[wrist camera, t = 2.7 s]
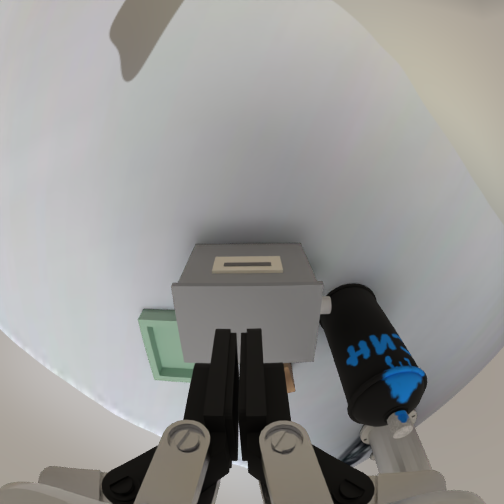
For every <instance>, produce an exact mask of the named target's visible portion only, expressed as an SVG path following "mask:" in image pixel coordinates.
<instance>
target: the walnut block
mask: <svg viewBox="0 0 504 504" xmlns="http://www.w3.org/2000/svg"><path fill="white" fill-rule="evenodd" d="M283 364H284V371H285V378H286V386H287V393H290V392H295V385H294V379H293V372H292V366H291V363H283Z"/></svg>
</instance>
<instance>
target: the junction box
mask: <svg viewBox="0 0 504 504" xmlns="http://www.w3.org/2000/svg"><path fill="white" fill-rule="evenodd" d="M323 286H324V284H323V282H322V281H317V280H316V278H315V275H314V273H313V271H312V268H311V266H310V264H309V261H308V259H307V257H306V254H305V252H304V250H303V248H302V245H301V243H268V244H196V245H195V247H194V249H193V251H192V253H191V255H190V258H189V260H188V262H187V264H186V266H185V268H184V271H183V273H182V275H181V277H180V279H179V282H178V283H172V285H171V288H172V295H173V302H174V308H175V314H176V320H177V326H178V332H179V337H180V343H181V348H182V353H183V358H184V363H211V356H212V349H213V342H214V336H215V330H216V329H231V333H236V334H237V351H238V364H240V345H241V333H245V332H247V329H254V328H261V329H262V346H263V363H280V362H283V363H297V362H314V355H315V349H316V342H317V335H318V327H319V320H320V314H330V312H331V298H330V296H322V295H323Z"/></svg>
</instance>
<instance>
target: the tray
mask: <svg viewBox="0 0 504 504" xmlns="http://www.w3.org/2000/svg"><path fill="white" fill-rule="evenodd" d="M138 322H139V326H140V330H141V334H142V338H143V342H144V345H145V349H146V353H147V356H148V360H149V363H150V367H151V370H152V373H153V377H154V380H161V381H173V382H189V383H191V378H192V373H193V368H194V364H195V363H184V358H183V353H182V348H181V343H180V337H179V332H178V326H177V320H176V314H175V310H154V309H143V311H142V313H141V315H140V317H139V318H138Z"/></svg>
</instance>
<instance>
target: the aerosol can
mask: <svg viewBox="0 0 504 504" xmlns="http://www.w3.org/2000/svg"><path fill="white" fill-rule="evenodd" d="M327 296H330V298H331V312H330V314H320V320H319V323H320V325H321V327H322V328H323V329H324V332H325V334H326V337H327V340H328V343H329V346H330V349H331V352H332V355H333V358H334V362H335V365H336V368H337V371H338V374H339V377H340V380H341V383H342V386H343V390H344V393H345V396H346V399H347V402H348V408H347V410H348V415H349V417H350V418H351V419H352V420H353V421H355V422H357V423H360V424H364V425H368V426H373V427H381V426H386V425H388V426H389V428H390V431H391V433H392V436H393V438H396V439H397V438H402V437H404V436H406V435H408V434H409V433H410V432H411V431H412V430H413V425H412V423H411V421H410V418H409V416H408V414H410V413H411V412H412V411H413V410H414V409H415V408H416V407H417V405H418V404H419V402H420V400H421V397H422V395H423V393H424V391H425V389H426V386H427V376H426V374H425V372H424V371H423V370H421V369H420V368H418V366H417V364H416V363H415V361H414V359H413V358H412V356H411V354H410V353H409V351H408V350H407V348H406V346H405V345H404V343H403V342H402V340H401V338H400V337H399V335H398V334H397V332H396V330H395V329H394V327H393V326H392V324H391V323H390V321H389V320H388V318H387V316H386V315H385V313H384V312H383V310H382V309H381V307H380V306H379V304H378V303H377V300H376V297H375V295H374V293H373V292H372V291H371V290H370V289H369V288H367V287H365V286H363V285H360V284H347V285H344V286H341V287H339V288H336V289H335V290H333V291H332V292H330V293H329V294H328V295H327Z"/></svg>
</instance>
